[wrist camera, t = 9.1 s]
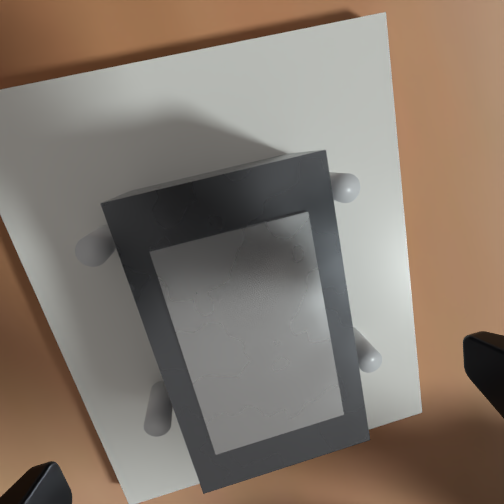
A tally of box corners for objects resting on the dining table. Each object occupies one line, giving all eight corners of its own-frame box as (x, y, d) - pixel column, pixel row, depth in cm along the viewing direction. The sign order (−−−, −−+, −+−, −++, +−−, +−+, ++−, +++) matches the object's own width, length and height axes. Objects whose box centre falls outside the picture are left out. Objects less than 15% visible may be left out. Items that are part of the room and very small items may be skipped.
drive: (287, 153, 13) (327, 149, 9) (328, 372, 16) (371, 442, 12) (130, 190, 12) (98, 203, 8) (201, 409, 15) (203, 496, 11)
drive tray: (372, 23, 13) (421, -17, 10) (410, 399, 18) (450, 443, 15) (-31, 104, 12) (-105, 86, 9) (133, 486, 17) (120, 552, 14)
